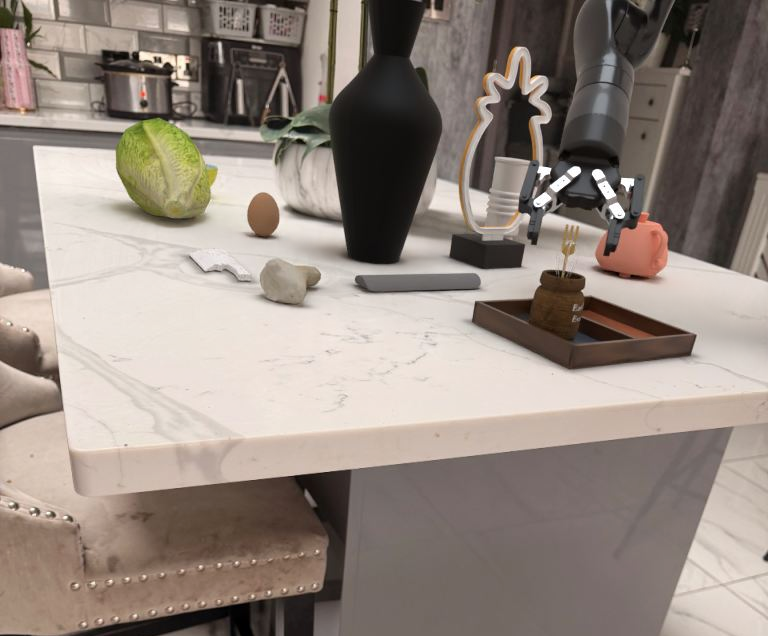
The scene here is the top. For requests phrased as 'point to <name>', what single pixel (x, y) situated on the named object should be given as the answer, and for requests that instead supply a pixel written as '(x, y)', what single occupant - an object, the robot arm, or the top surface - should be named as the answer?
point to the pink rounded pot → (636, 250)
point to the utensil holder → (559, 296)
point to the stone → (287, 281)
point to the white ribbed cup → (505, 192)
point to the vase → (384, 137)
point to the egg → (263, 214)
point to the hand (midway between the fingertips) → (570, 246)
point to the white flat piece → (219, 262)
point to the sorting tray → (588, 333)
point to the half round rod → (419, 281)
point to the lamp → (490, 242)
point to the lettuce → (163, 170)
